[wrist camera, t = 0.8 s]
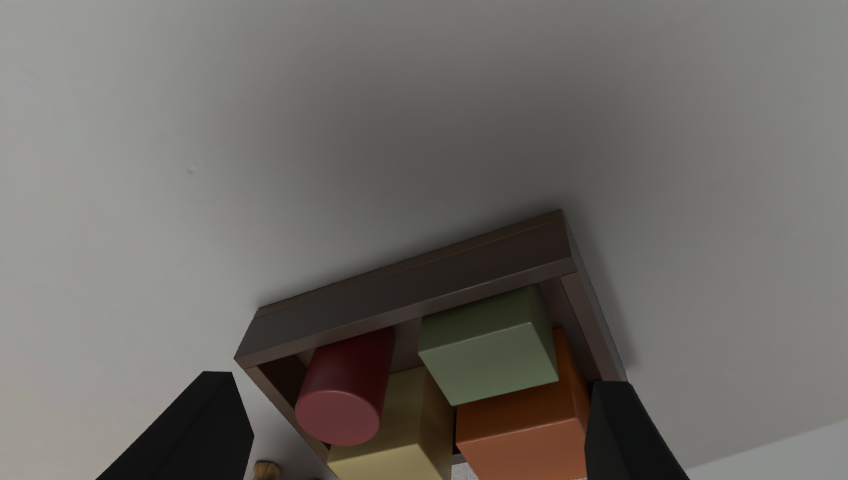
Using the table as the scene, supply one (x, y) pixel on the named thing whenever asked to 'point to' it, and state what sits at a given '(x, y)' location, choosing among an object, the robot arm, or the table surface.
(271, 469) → the lion figurine
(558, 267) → the tray of colored blocks
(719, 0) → the table surface
